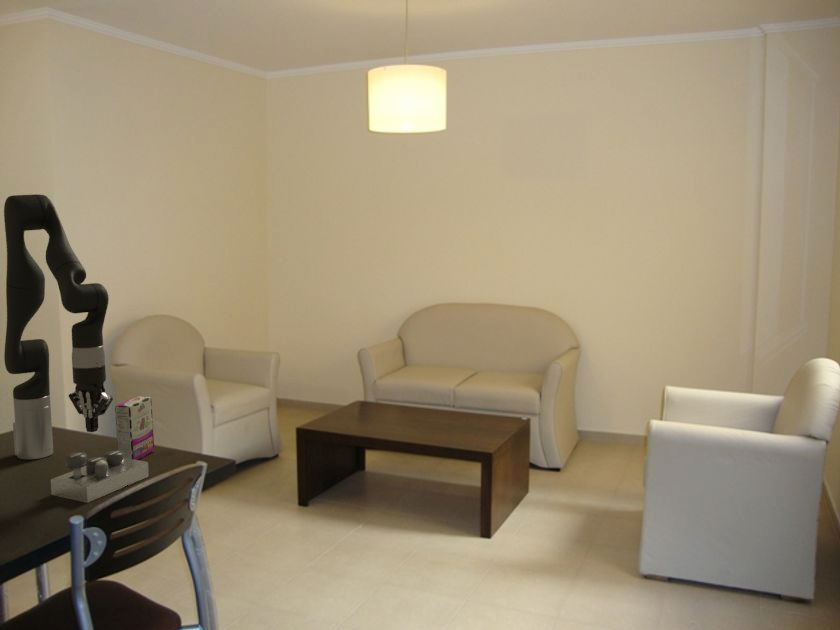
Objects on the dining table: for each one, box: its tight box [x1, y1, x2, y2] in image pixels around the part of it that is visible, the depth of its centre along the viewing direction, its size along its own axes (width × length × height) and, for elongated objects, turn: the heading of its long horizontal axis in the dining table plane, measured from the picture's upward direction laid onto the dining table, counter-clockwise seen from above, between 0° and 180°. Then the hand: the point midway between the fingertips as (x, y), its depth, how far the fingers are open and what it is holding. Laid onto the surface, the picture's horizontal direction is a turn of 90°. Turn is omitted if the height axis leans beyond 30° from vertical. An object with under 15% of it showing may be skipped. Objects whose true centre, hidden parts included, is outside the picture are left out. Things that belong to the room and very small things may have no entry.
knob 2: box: [86, 456, 106, 473], centre depth 192 cm, size 5×5×6 cm
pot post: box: [95, 461, 108, 478], centre depth 187 cm, size 3×3×4 cm
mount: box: [50, 458, 150, 504], centre depth 191 cm, size 12×20×4 cm, turn 156°
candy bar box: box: [114, 395, 155, 461], centre depth 213 cm, size 11×5×16 cm, turn 168°
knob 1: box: [65, 451, 88, 480], centre depth 186 cm, size 5×5×6 cm
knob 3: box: [104, 449, 125, 466], centre depth 197 cm, size 5×5×6 cm
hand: (92, 431), depth 190 cm, fingers closed
